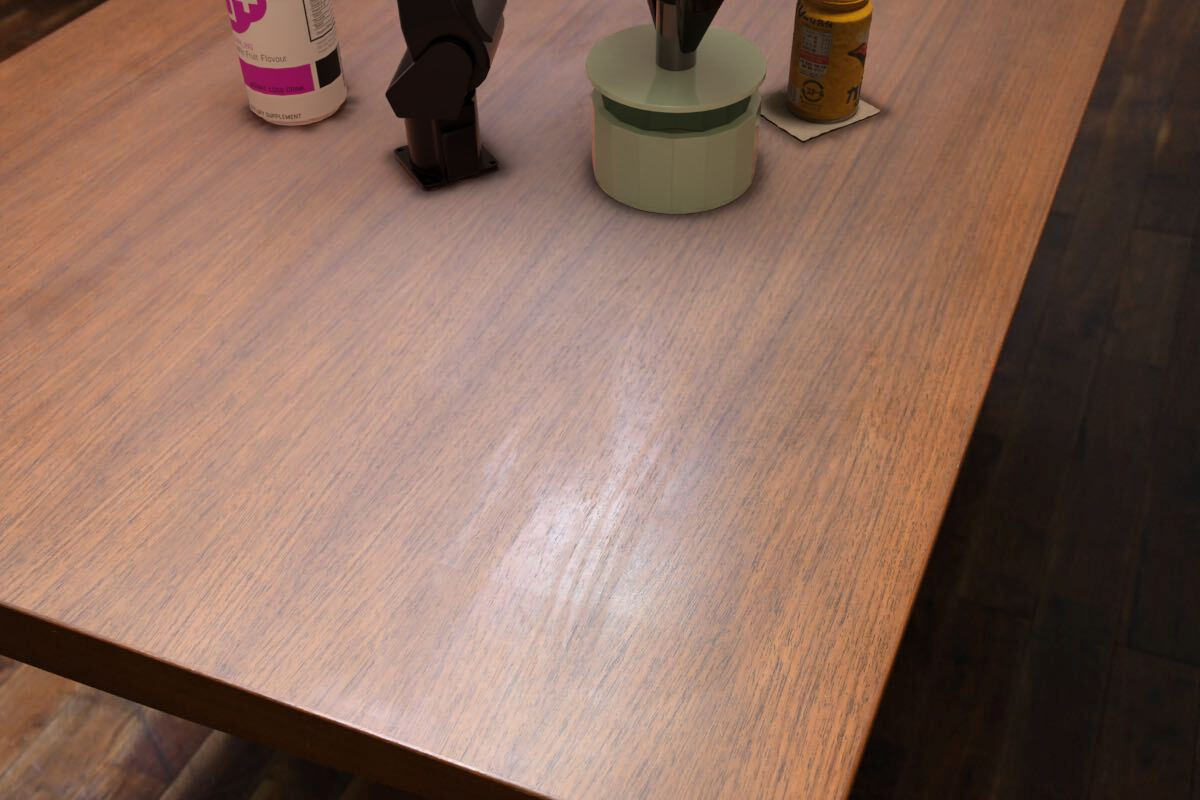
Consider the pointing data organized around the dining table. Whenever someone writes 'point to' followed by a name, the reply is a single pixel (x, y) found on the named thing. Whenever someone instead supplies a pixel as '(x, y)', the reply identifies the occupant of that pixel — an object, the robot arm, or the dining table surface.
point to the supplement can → (289, 58)
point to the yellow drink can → (824, 69)
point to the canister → (674, 154)
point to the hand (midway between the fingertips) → (675, 42)
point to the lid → (675, 67)
